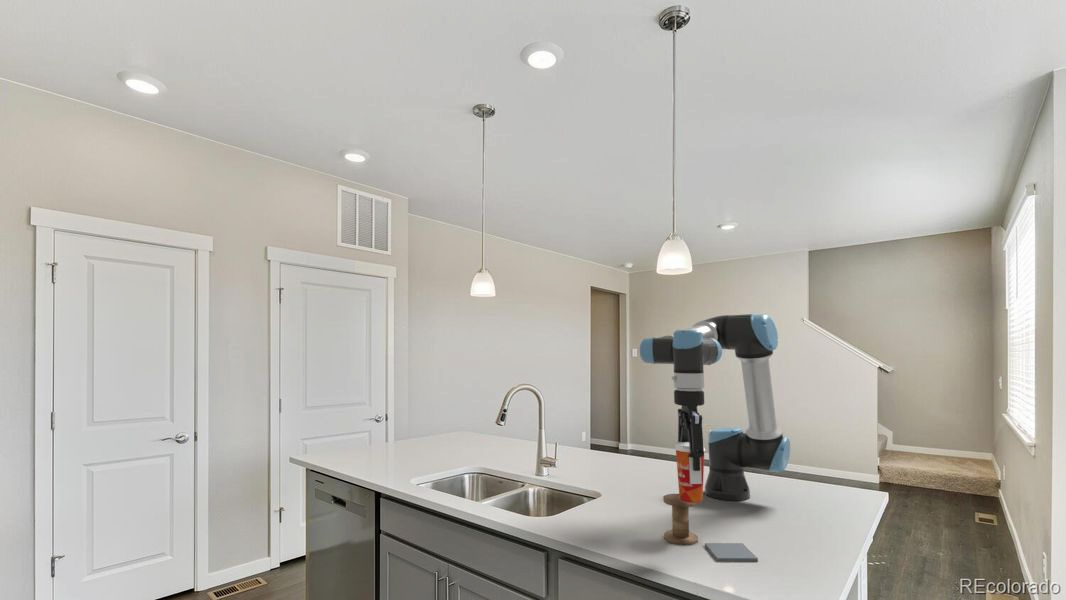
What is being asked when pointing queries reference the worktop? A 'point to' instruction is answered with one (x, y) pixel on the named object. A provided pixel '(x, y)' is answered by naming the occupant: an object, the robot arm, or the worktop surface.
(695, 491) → the paper cup
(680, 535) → the bobbin
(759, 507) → the worktop surface
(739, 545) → the grey square tile
